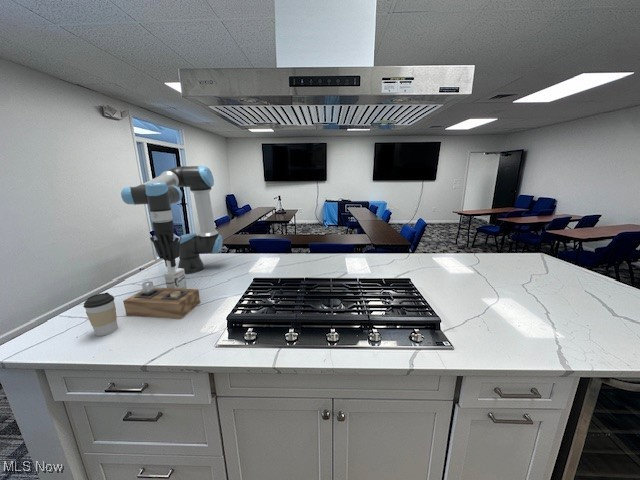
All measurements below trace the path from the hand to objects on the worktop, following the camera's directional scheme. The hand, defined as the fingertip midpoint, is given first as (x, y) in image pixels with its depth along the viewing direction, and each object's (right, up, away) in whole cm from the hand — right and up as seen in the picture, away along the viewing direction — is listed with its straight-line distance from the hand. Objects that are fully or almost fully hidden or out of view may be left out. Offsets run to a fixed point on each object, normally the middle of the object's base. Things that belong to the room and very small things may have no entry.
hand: (172, 273), depth 110 cm
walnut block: (-6, -17, +5) cm, 19 cm away
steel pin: (-13, -12, +4) cm, 18 cm away
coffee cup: (-19, -21, -11) cm, 31 cm away
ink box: (-10, -13, +22) cm, 27 cm away
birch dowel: (0, -16, +4) cm, 17 cm away
